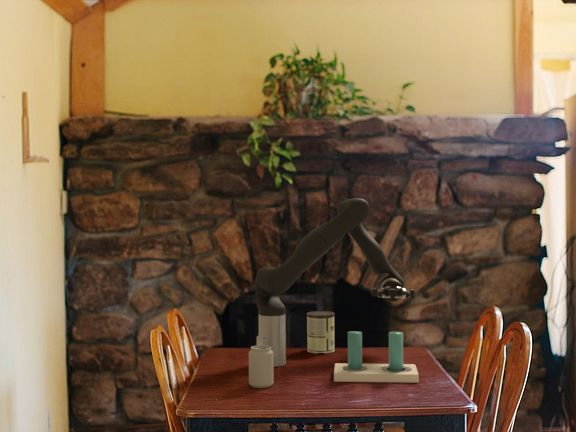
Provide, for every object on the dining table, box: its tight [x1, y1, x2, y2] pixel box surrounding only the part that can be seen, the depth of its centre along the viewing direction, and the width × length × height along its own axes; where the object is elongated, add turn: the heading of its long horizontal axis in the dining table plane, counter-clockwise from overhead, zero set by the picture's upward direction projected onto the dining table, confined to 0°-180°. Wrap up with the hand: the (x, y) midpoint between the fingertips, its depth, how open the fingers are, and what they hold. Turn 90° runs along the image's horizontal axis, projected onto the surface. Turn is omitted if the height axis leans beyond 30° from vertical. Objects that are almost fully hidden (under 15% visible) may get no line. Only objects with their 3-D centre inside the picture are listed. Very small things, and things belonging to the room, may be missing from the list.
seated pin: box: [347, 330, 363, 370], centre depth 245 cm, size 4×4×14 cm
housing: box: [333, 362, 420, 384], centre depth 245 cm, size 14×26×3 cm, turn 85°
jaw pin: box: [388, 331, 404, 371], centre depth 244 cm, size 4×4×14 cm
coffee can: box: [306, 310, 335, 354], centre depth 285 cm, size 10×10×14 cm
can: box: [248, 344, 274, 389], centre depth 234 cm, size 8×8×12 cm
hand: (394, 295), depth 254 cm, fingers open, 8 cm apart
